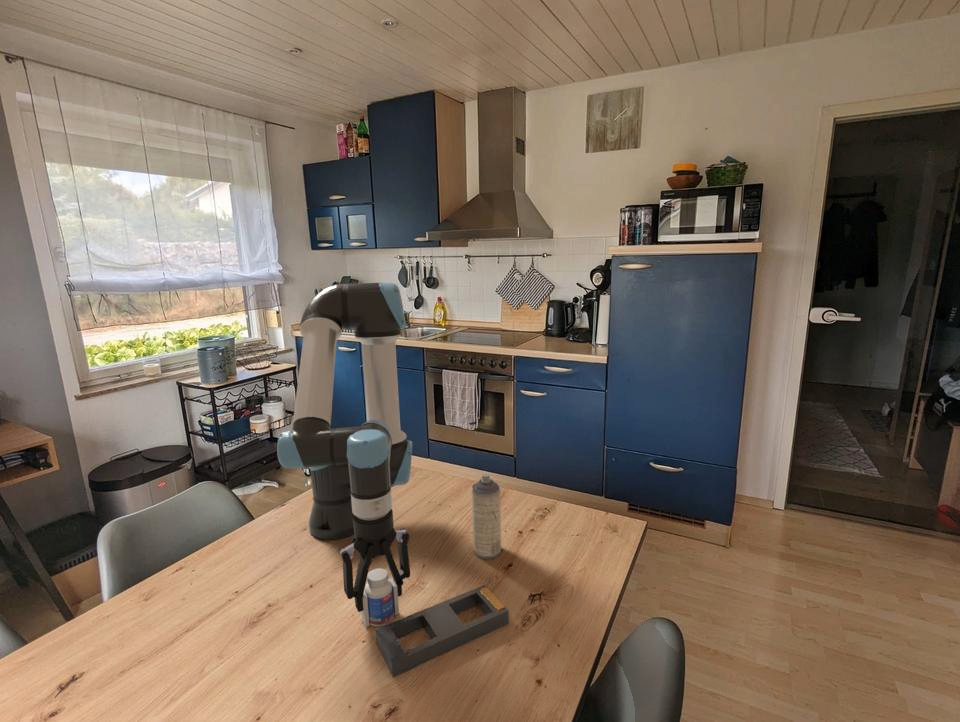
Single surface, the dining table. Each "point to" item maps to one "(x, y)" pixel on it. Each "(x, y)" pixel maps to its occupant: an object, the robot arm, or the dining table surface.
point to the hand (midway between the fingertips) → (380, 616)
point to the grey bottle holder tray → (440, 629)
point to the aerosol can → (486, 518)
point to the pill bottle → (379, 597)
